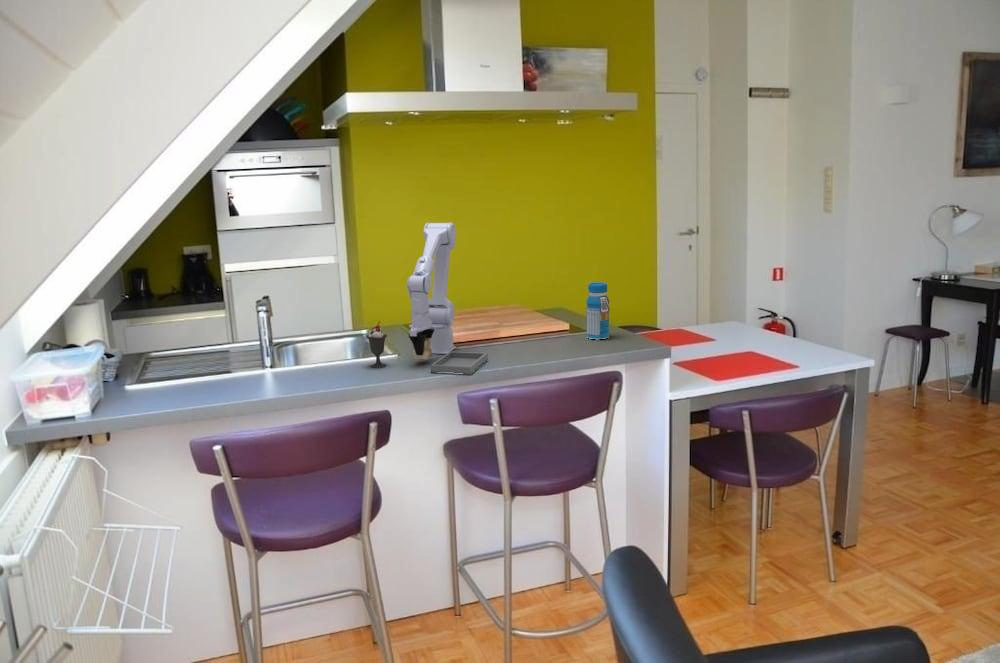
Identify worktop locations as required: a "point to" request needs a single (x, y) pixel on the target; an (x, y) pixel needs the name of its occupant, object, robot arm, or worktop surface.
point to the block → (427, 350)
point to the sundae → (377, 344)
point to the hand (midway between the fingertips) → (422, 353)
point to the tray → (459, 362)
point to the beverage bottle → (597, 311)
